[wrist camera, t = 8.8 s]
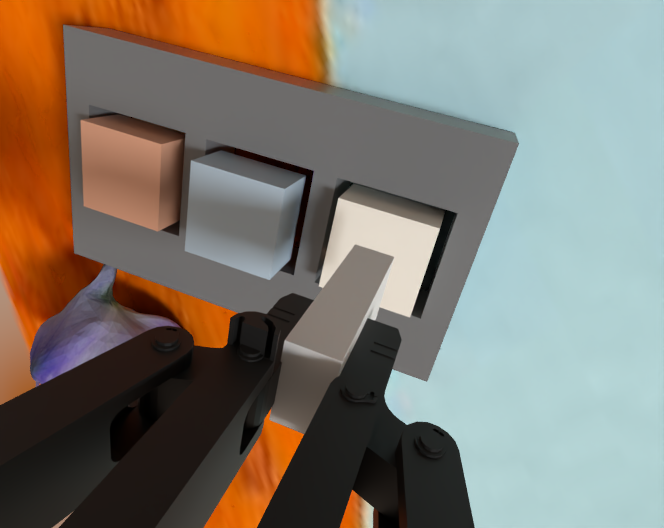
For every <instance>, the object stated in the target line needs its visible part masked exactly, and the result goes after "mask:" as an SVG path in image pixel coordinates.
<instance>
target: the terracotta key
mask: <svg viewBox="0 0 664 528" xmlns="http://www.w3.org/2000/svg"><path fill="white" fill-rule="evenodd" d="M81 147H82V174H83V201H84V206H85V207H88V208H90V209H93V210H96V211H99V212H102V213H105V214H108V215H111V216H114V217H117V218H120V219H123V220H126V221H129V222H131V223H134V224H137V225H140V226H143V227H146V228H149V229H152V230H155V231H160V230H162V229H164V228H166V227H168V226H170V225H172V224H174V223H175V222H177V221H179V220H180V213H181V197H182V181H183V165H184V150H185V134H184V133H181V132H177V131H174V130H170V129H167V128H164V127H160V126H157V125H153V124H150V123H147V122H143V121H140V120H136V119H133V118H130V117H126V116H123V115H120V114H117V115H110V116H103V117H96V118H89V119H83V120H81Z"/></svg>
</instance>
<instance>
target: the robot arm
mask: <svg viewBox="0 0 664 528" xmlns="http://www.w3.org/2000/svg"><path fill="white" fill-rule="evenodd" d="M393 260H394V257H393V256H390V255H387V254H384V253H381V252H378V251H375V250H372V249H369V248H365V247H362V246H359V245H356V244H355V245H354V247H353V248H352V249H351V251H350V252H349V253H348V255H347V256H346V257H345V259H344V260H343V262H342V263H341V264H340V266H339V267H338V268H337V270H336V271H335V272H334V274H333V275H332V276H331V278H330V279H329V281H328V282H327V283H326V285H325V286H324V287H323V289H322V290H321V291H320V293H319V294H318V295H317V297H316V298H315V300H312V299H309V298H306V297H304V296H301V295H298V294H295V293H291V294H289V295H286V296H284V297H282V298H280V299H279V300H278V301H277V303H276V304H275V305H274V306H273V308H271V309H270V310H269V312H268V313H267V314H265V313H260V312H256V311H246V312H242V313H238V314H236V315H234V316H233V317H231V318H230V327H229V335H228V343H227V345H226V346H225V347H224V348H209V347H202V346H194V340H193V337H192V335H191V334H190V333H189V332H188V331H187V330H184V329H182V328H179V327H174V326H160V327H156V328H153V329H150V330H147V331H145V332H143V333H142V334H140V335H138V336H136V337H134V338H132V339H130V340H128V341H126V342H124V343H122V344H120V345H118V346H116V347H114V348H112V349H110V350H108V351H106V352H104V353H102V354H100V355H98V356H96V357H94V358H92V359H90V360H88V361H86V362H84V363H82V364H80V365H78V366H77V367H75V368H73V369H71V370H69V371H67V372H65V373H63V374H61V375H59V376H57V377H55V378H53V379H51V380H49V381H47V382H45V383H43V384H41V385H39V386H37V387H35V388H33V389H31V390H29V391H27V392H26V393H23V394H21V395H20V396H17V397H15V398H14V399H12V400H10V401H8V402H6V403H4V404H2V405H0V528H52V527H53V526H55V525H56V524H57V523H59V522H60V521H61V520H62V519H64V518H65V517H66V516H68V515H69V514H70V513H72V512H73V511H74V510H75V511H74V512H73V513H72V514H71V515H70V516H69V517H68V518H67V519H66V520H65V522H64V523H63V524H62V525H61V526H60V527H59V528H203V527H204V526H205V524H206V522H207V521H208V519H209V518H210V516H211V514H212V513H213V511H214V509H215V508H216V506H217V505H218V503H219V501H220V500H221V498H222V496H223V495H224V493H225V492H226V490H227V488H228V487H229V485H230V483H231V482H232V480H233V478H234V477H235V475H236V474H237V472H238V470H239V469H240V467H241V465H242V464H243V462H244V461H245V459H246V457H247V456H248V454H249V452H250V451H251V449H252V447H253V446H254V444H255V443H256V441H257V439H258V438H259V436H260V434H261V432H262V428H263V424H264V418H265V417H266V415H267V414H268V412H269V411H270V409H271V407H272V409H271V414H270V419H269V420H271V421H274V422H276V423H279V424H281V425H283V426H286V427H288V428H291V429H293V430H296V431H298V432H300V433H303V434H304V436H303V438H302V440H301V442H300V444H299V446H298V448H297V450H296V452H295V454H294V456H293V458H292V460H291V462H290V464H289V466H288V468H287V470H286V471H285V473H284V475H283V477H282V479H281V481H280V483H279V485H278V487H277V489H276V491H275V493H274V495H273V497H272V499H271V501H270V503H269V505H268V507H267V509H266V511H265V513H264V515H263V517H262V519H261V521H260V523H259V525H258V527H257V528H339V527H340V524H341V521H342V518H343V515H344V512H345V509H346V506H347V503H348V501H349V498H350V495H351V492H352V490H353V491H355V492H356V493H357V494H358V495H359V496H361V497H362V498H363V499H364V500H365V501H367V502H368V503H369V504H370V505H371V506H373V507H374V511H373V528H474V523H473V518H472V513H471V508H470V503H469V498H468V493H467V488H466V483H465V478H464V473H463V468H462V463H461V458H460V453H459V449H458V447H457V445H456V442H455V441H454V439H453V438H452V437H451V436H450V435H449V434H448V433H447V432H446V431H444V430H443V429H441V428H440V427H439V426H436V425H433V424H431V423H428V422H415V423H412V424H409V425H406V424H405V423H403V422H402V421H400V420H399V419H398V418H397V417H396V416H394V415H393V414H392V412H391V411H390V410H389V409H388V407H387V405H386V403H385V398H384V394H385V389H386V386H387V383H388V380H389V377H390V374H391V371H392V368H393V365H394V362H395V359H396V356H397V353H398V350H399V347H400V344H401V341H402V339H401V336H400V333H399V330H398V329H397V328H395V327H392V326H389V325H386V324H383V323H380V322H378V321H375V320H376V317H377V314H378V311H379V307H380V304H381V301H382V297H383V294H384V290H385V287H386V284H387V280H388V277H389V274H390V270H391V267H392V264H393Z"/></svg>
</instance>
